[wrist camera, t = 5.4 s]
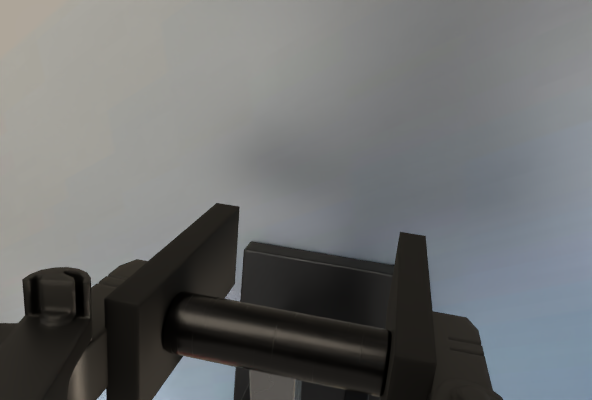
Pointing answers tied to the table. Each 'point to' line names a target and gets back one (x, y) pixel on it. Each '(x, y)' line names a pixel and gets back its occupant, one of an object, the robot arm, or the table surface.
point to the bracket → (314, 297)
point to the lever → (278, 346)
